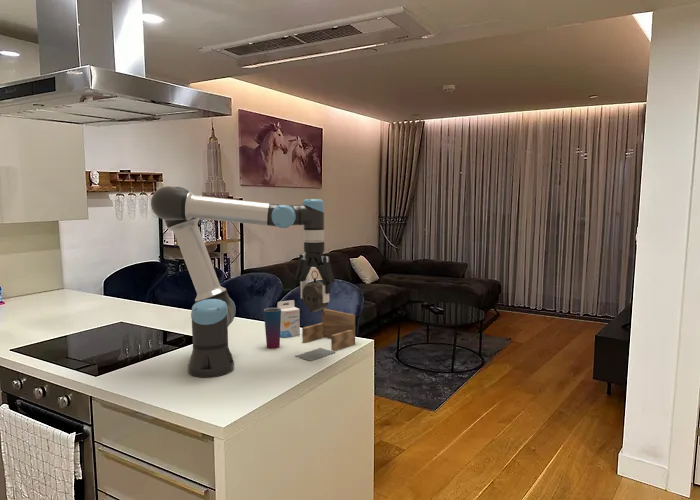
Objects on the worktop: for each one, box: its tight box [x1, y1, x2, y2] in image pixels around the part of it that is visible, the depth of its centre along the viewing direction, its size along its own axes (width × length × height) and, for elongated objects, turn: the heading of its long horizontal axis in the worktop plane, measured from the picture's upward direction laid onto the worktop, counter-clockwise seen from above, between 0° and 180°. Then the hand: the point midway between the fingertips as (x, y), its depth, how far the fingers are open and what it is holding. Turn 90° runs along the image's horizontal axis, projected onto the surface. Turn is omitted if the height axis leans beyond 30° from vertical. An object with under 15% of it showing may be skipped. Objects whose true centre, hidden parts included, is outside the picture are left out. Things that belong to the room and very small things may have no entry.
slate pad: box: [294, 347, 336, 362], centre depth 184 cm, size 13×8×1 cm, turn 138°
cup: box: [263, 307, 281, 350], centre depth 193 cm, size 7×7×15 cm
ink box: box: [277, 299, 301, 339], centre depth 210 cm, size 8×5×15 cm, turn 124°
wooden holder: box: [301, 308, 356, 352], centre depth 198 cm, size 12×18×12 cm
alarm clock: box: [302, 270, 329, 315], centre depth 181 cm, size 11×5×16 cm, turn 43°
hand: (314, 300), depth 182 cm, fingers closed on alarm clock, 11 cm apart
